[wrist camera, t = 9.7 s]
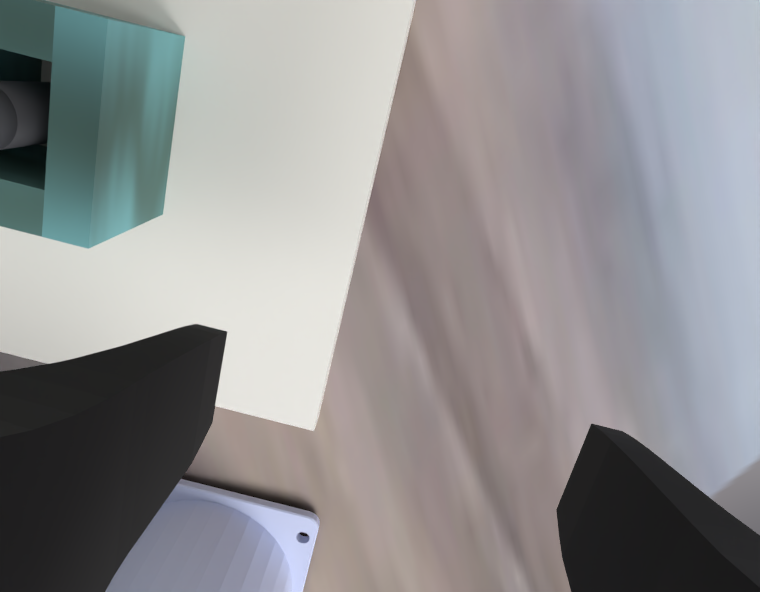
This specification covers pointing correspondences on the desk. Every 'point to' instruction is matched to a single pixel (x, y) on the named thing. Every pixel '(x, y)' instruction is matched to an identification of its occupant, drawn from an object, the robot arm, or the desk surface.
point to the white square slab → (227, 198)
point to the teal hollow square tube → (89, 122)
